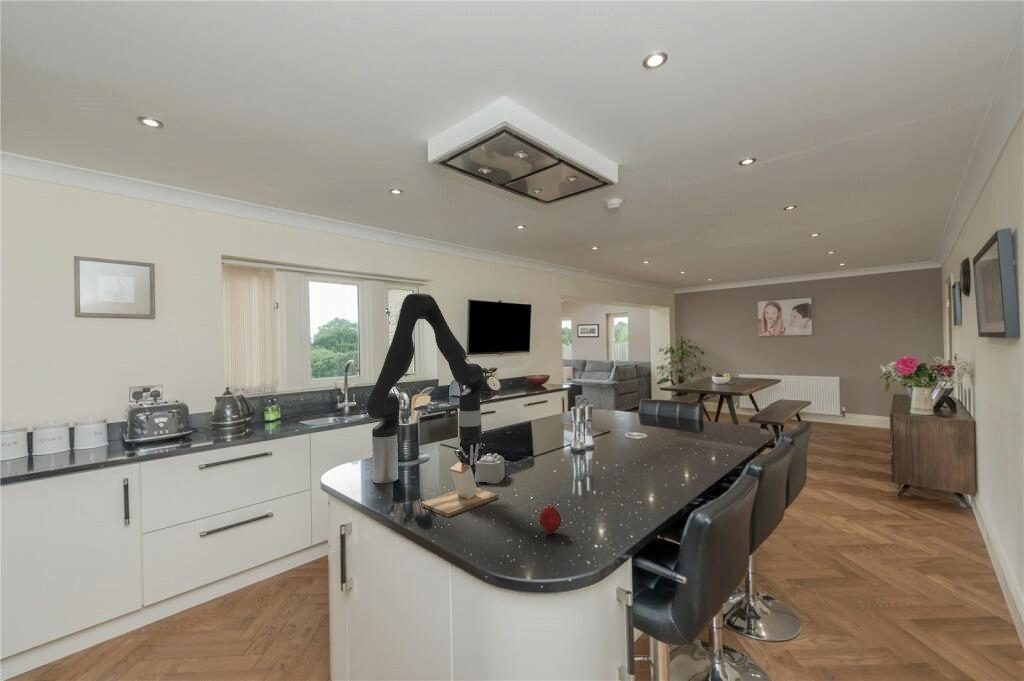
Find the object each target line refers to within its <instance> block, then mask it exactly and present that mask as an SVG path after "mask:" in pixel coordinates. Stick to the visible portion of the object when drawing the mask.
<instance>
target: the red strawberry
mask: <svg viewBox="0 0 1024 681" xmlns="http://www.w3.org/2000/svg"><path fill="white" fill-rule="evenodd" d="M539 514H540V515H539V517H538V522H539V525H540V528H541V529H542V530H544V531H545V532H546V533H547V534H548V535H553V534H554V533H555V532H556V531H557V530H558V529H559V528H560V526H561V525H562V523H561V522H562V518H561V515H560V512H559V511H558V510H557V508H555V507H553V505H552V504H551V503H549V504H548V505H547V506H546V507H545V508H543V510H542V511H541V512H540V513H539Z"/></svg>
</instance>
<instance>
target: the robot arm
mask: <svg viewBox="0 0 1024 681" xmlns="http://www.w3.org/2000/svg"><path fill="white" fill-rule="evenodd" d="M418 320H425V321H426V322H427V323H428V324H429V325H430V326H431V328H432V330H433V333H434V337H435V344H436V346H437V348H438V350H439V352H440V353H441V354H442V356H443V357H444V358H445V361H446V362H447V363H448V366H449V369H450V372H451V374H452V377H453V378H454V380H455V381H456V382H457V383H458V384H459V385H461V386H465V388H464V391H463V392H461V393H460V395H459V397H458V398H459V399H458V400H459V402H458V403H459V404H458V405H459V407H458V408H459V412H458V435H459V436H458V438H459V439H460V442H459V447H458V449H455V450H454V451H453V452H454V454H455V456H456V457H457V458H458V460H459V462H460V463H463V464H467V465H470V466H471V469H472V473H473V476H475V472H476V463H477V461H480V459H481V457H482V455H483V456H484V453H485V450H486V449H487V444H484V443H482V439H481V437H482V435H483V434H482V429H483V428H482V414H481V413H482V412H481V394H482V392H483V385H484V379H485V378H484V377H485V375H484V370H483V368H482V366H481V365H479V363H478V364H477V363H467V361H466V360H465V359H466V356H467V351H466V350H465V348H464V347H463V346H462V345H461V343H460V342H459V340H458V338H456V336H455V335H454V333H453V332H452V330H451V329H450V327H449V324H448V323H447V321H446V318H445V316H444V315H443V313H442V311H441V308H440V307H439V305H438V303H437V301H436V299H435V298H434V296H432V295H431V294H428V293H419V292H411V293H408V294H407V295H406V296H405V297H404V299H403V301H402V303H401V307H400V311H399V315H398V320H397V324H396V328H395V330H394V334H393V336H392V340H391V343H390V346H389V348H388V350H387V352H386V356H385V359H384V362H383V365H382V368H381V370H380V373H379V375H378V378H377V381H376V383H375V385H374V387H373V388H372V390H371V393H370V394H369V397H368V400H367V402H366V411H367V412H366V413H367V415H368V416H369V417H370V418H371V419H377V420H378V419H381V421H380V422H379V423H378V424H377V425H376V426H374V427H373V428H372V430H371V434H372V435H371V437H372V438H371V439H372V442H371V444H372V455H371V468H372V470H371V472H372V473H371V474H372V476H371V477H372V481H373V483H376V484H389V483H393V482H396V481H397V480H398V479H399V464H398V462H399V459H398V458H399V457H398V454H399V453H398V428H399V427H400V400H399V398H398V396H397V394H396V393H394V392H391V391H392V389H393V387H395V385H396V384H397V383H398V382H399V381H400V380H401V379H402V378H403V377H404V376H405V374H406V373H407V372H408V370H409V369H410V368H411V363H412V361H413V358H414V355H415V344H414V339H413V335H414V334H413V333H414V330H415V326H416V324H417V322H418Z"/></svg>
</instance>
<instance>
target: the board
mask: <svg viewBox="0 0 1024 681" xmlns="http://www.w3.org/2000/svg"><path fill="white" fill-rule="evenodd" d="M477 490H478V493H476V494H475V495H474V496H473V497H472V498H470V499H468V498H465V497H462V496H459V495H458V494H457V491H456V490H453V491H450V492H447V493H444V494H441V495H437V496H435V497H433V498H432V497H431V498H428V499H426V500H423V501H420V502H419V503H420V504H419V506H420V507H422V508H424V507H425V508H424V509H426V508H427V509H426V510H429V511H431V510H432V511H431V512H434V513H436V514H438V513H439V514H438V515H441V516H443V517H446V518H449V517H452V515H453V516H455V515H458V514H460V513H463V512H465V511H469V510H470V509H474V508H476V507H478V505H479V506H481V505H484V504H485V503H486V504H487V503H490V502H491V500H492V501H494V500H497V499H498V498H499V494H497V493H494V492H491V491H488V490H485V489H482V488H479V487H477ZM483 503H484V504H483Z"/></svg>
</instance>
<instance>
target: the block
mask: <svg viewBox="0 0 1024 681" xmlns="http://www.w3.org/2000/svg"><path fill="white" fill-rule="evenodd" d="M449 471H450V474H451V477H452V482H453V483H454V487H455V491H457V494H458V495H459V496H462V497H465V498H468V499H470V498H472V497H473V496H474V495H475V494H476V493H478V490H477V488H478V486H477V482H476V481H475V475H473V473H472V469H471V466H470V465H467V464H464V463H461V461H458V462H456V463H455V464H454V465H453V466H451V467H450V468H449Z"/></svg>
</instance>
